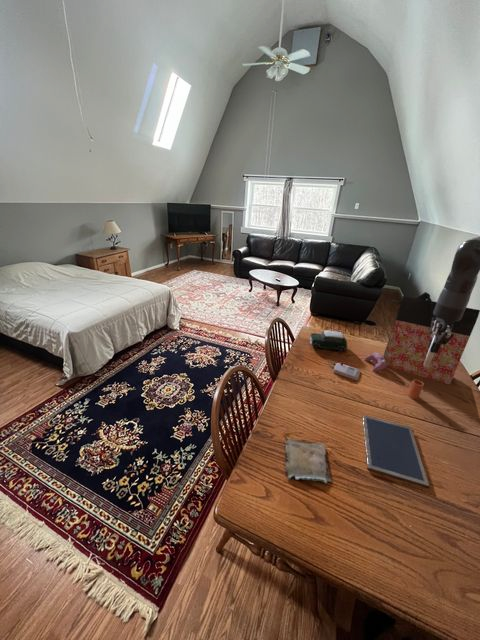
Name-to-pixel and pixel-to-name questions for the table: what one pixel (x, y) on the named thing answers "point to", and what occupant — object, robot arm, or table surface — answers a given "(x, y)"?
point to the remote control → (346, 370)
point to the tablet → (393, 451)
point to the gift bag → (426, 340)
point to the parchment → (306, 461)
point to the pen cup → (415, 389)
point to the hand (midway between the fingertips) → (432, 350)
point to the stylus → (429, 355)
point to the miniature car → (329, 340)
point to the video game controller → (377, 361)
